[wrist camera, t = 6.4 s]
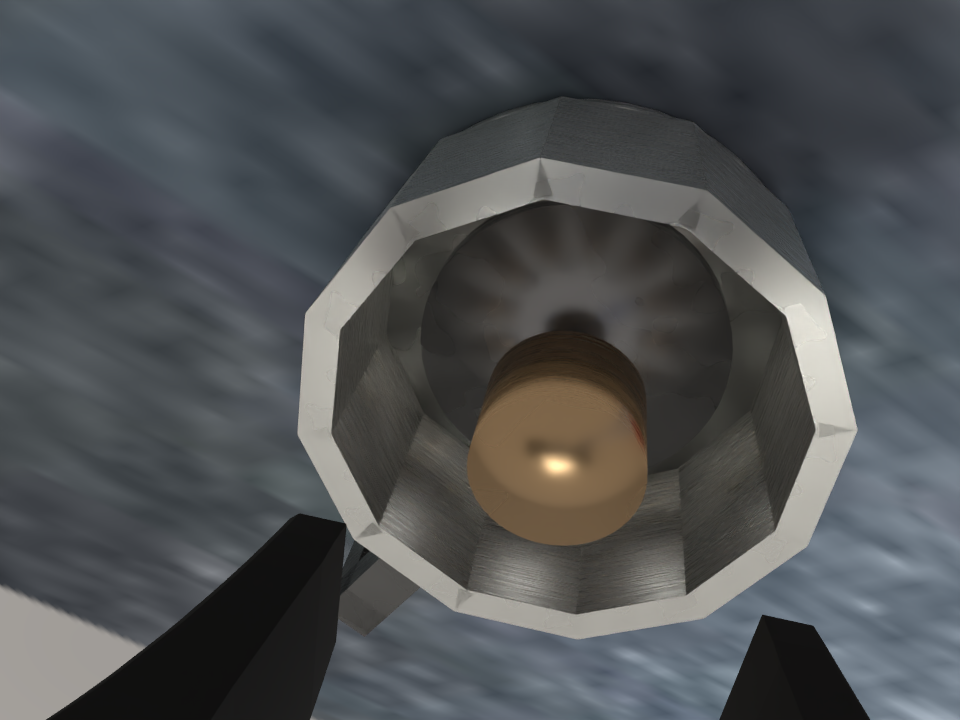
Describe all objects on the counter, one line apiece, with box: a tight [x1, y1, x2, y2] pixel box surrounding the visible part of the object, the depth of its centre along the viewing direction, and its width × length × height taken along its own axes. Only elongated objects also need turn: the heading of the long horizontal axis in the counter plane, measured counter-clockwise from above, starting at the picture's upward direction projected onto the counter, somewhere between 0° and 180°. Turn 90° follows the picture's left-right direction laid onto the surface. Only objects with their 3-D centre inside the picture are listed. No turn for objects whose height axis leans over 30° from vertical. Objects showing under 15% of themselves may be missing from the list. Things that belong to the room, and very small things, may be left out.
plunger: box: [420, 199, 733, 546], centre depth 16 cm, size 6×6×5 cm
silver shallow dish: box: [298, 96, 857, 639], centre depth 18 cm, size 9×11×4 cm
